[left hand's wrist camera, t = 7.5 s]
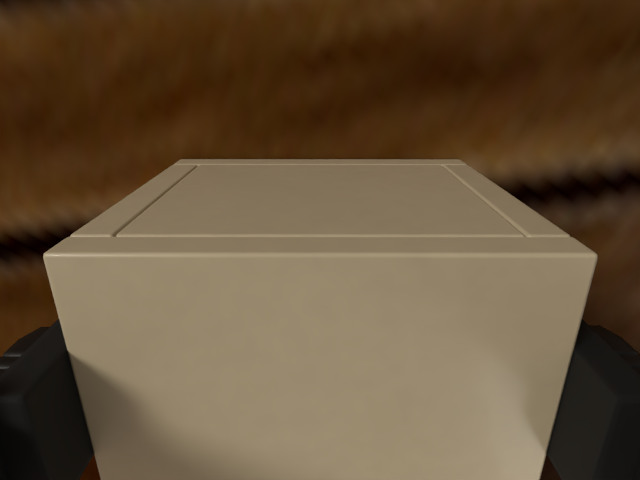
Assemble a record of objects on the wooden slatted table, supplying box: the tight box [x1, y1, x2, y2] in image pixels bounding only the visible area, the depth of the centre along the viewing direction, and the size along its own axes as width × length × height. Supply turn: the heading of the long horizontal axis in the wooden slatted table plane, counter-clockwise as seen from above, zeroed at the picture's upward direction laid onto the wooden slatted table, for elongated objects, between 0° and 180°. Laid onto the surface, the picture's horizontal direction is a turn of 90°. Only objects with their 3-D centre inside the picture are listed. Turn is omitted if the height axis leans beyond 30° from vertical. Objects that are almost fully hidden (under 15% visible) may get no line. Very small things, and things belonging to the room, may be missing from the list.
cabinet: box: [43, 159, 598, 480], centre depth 15 cm, size 21×10×8 cm, turn 0°
